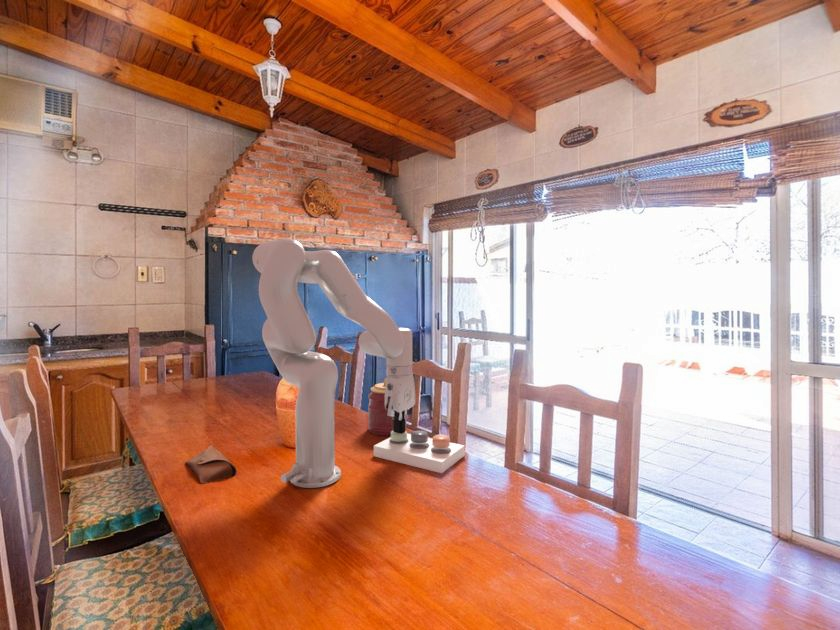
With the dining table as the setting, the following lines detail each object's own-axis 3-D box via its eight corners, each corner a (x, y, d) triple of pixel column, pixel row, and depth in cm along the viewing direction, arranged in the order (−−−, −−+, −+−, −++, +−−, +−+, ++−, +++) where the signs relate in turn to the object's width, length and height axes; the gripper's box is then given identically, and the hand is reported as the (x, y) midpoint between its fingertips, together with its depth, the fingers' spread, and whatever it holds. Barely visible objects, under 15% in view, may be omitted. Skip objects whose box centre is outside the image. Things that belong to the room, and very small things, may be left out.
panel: (441, 473, 112) (442, 461, 112) (373, 456, 124) (373, 445, 123) (464, 455, 124) (464, 444, 124) (400, 441, 136) (400, 431, 135)
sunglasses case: (181, 462, 118) (194, 439, 120) (205, 469, 122) (218, 446, 124) (201, 484, 105) (215, 458, 107) (227, 491, 109) (241, 465, 111)
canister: (386, 439, 138) (386, 384, 137) (359, 430, 146) (359, 378, 145) (414, 429, 147) (414, 378, 146) (388, 421, 156) (388, 373, 155)
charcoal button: (422, 444, 120) (422, 437, 120) (407, 441, 123) (407, 434, 123) (430, 439, 125) (430, 432, 124) (416, 436, 127) (416, 429, 127)
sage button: (401, 442, 124) (401, 436, 124) (387, 439, 127) (387, 433, 126) (410, 438, 128) (410, 431, 128) (396, 435, 131) (396, 428, 131)
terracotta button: (444, 449, 117) (444, 441, 117) (429, 445, 119) (429, 438, 119) (452, 443, 121) (452, 436, 121) (437, 440, 123) (437, 433, 123)
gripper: (395, 376, 118) (395, 442, 119) (423, 367, 131) (423, 427, 132) (373, 373, 122) (373, 437, 123) (402, 365, 135) (402, 423, 136)
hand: (399, 431), depth 127 cm, fingers closed
